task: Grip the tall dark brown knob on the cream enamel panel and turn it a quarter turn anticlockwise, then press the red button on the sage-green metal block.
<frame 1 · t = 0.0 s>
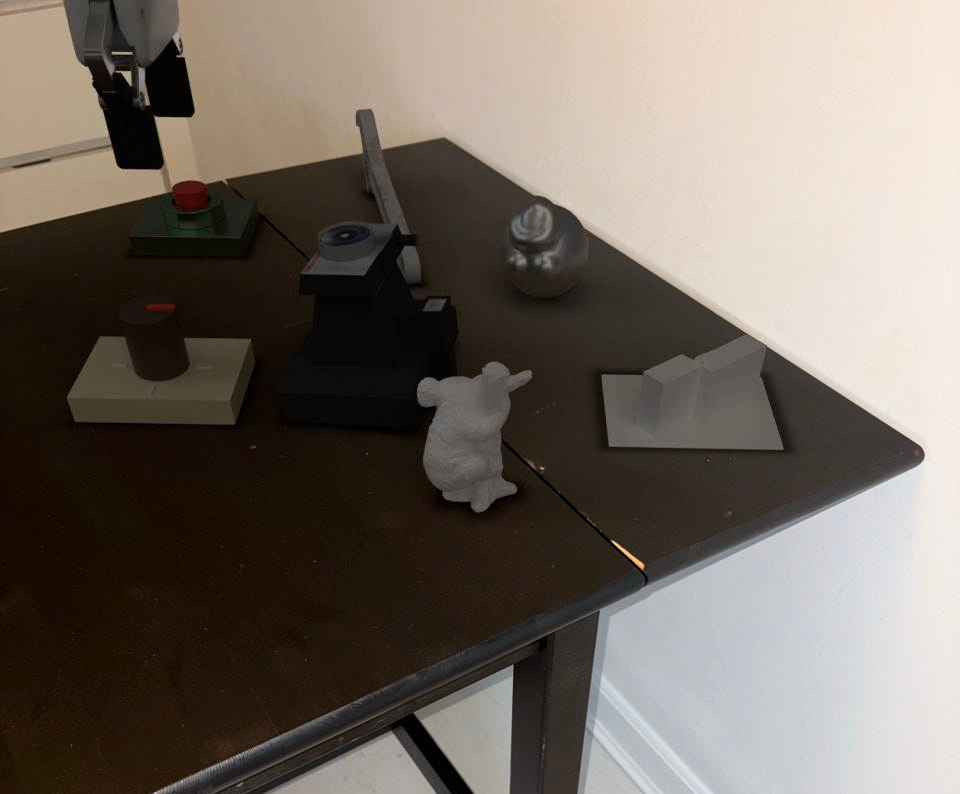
hand: (158, 140, 72), 22 cm above the table, tool pointing down, fingers open, 9 cm apart
button block: (198, 235, 110), on the table
animal figurine: (473, 496, 79), on the table
dial: (154, 336, 85), point 5 cm above the table, hinge at 0.0°
dark grey rounded lump: (540, 295, 102), on the table
button: (190, 195, 107), point 4 cm above the table, slide at 0.1 cm
wrench: (388, 228, 112), on the table
panel: (168, 391, 89), on the table
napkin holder: (688, 412, 88), on the table
camera: (391, 384, 90), on the table
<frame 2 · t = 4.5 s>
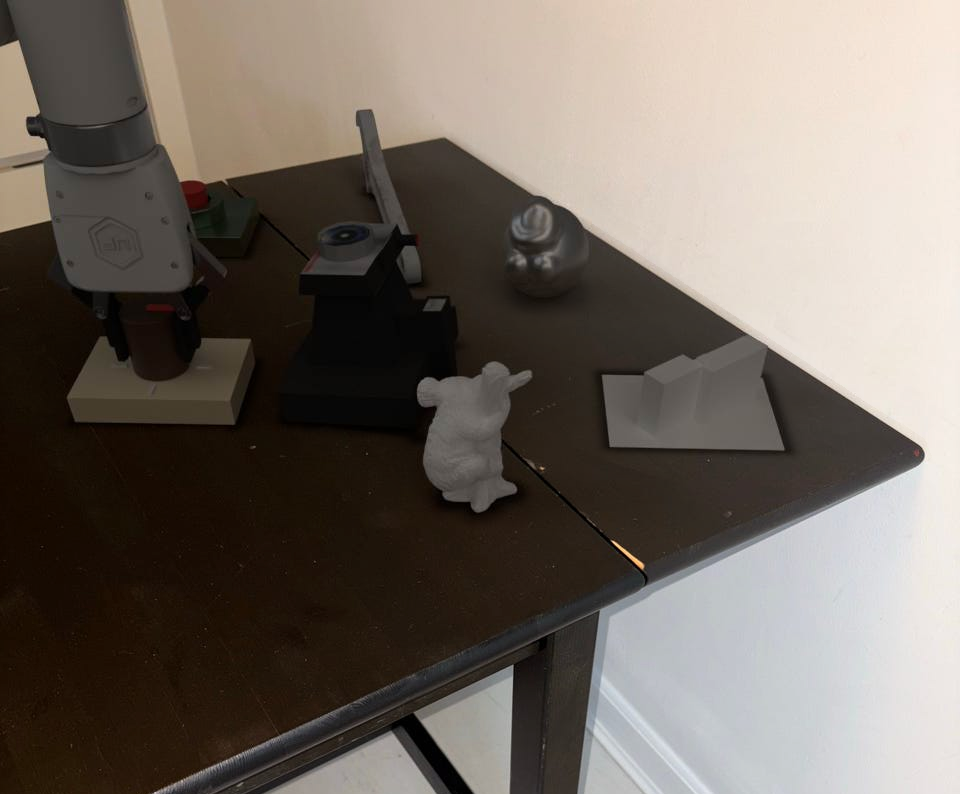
hand: (158, 351, 86), 4 cm above the table, tool pointing down, fingers closed on dial, 4 cm apart
dial: (154, 336, 85), point 5 cm above the table, hinge at 0.1°, touching gripper
everything else where it was.
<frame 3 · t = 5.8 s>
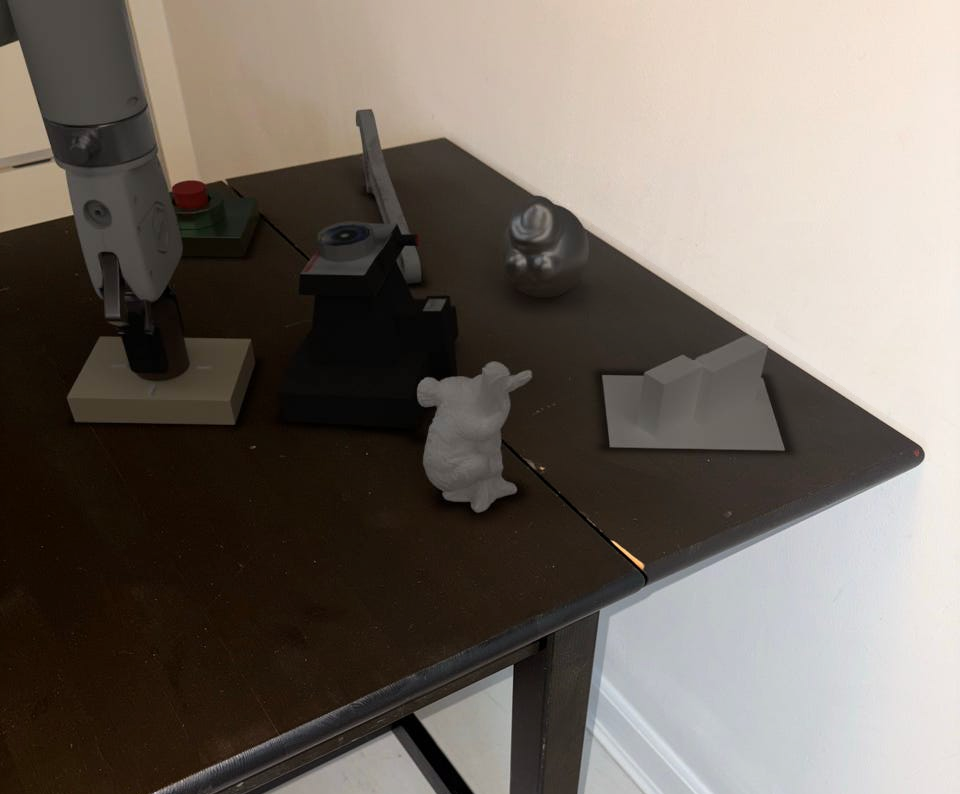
hand: (158, 351, 86), 4 cm above the table, tool pointing down, fingers closed on dial, 4 cm apart
dial: (154, 336, 85), point 5 cm above the table, hinge at 90.3°, touching gripper
everything else where it was.
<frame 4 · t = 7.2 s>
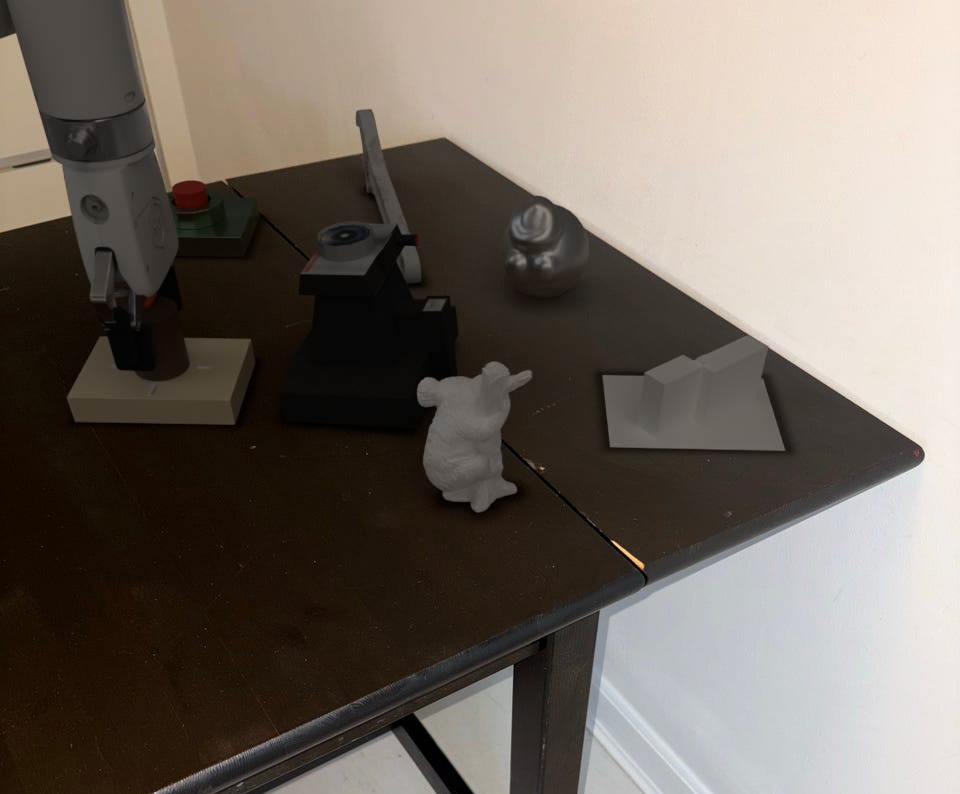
hand: (151, 338, 85), 5 cm above the table, tool pointing down, fingers open, 9 cm apart
dial: (154, 336, 85), point 5 cm above the table, hinge at 88.9°
everything else where it was.
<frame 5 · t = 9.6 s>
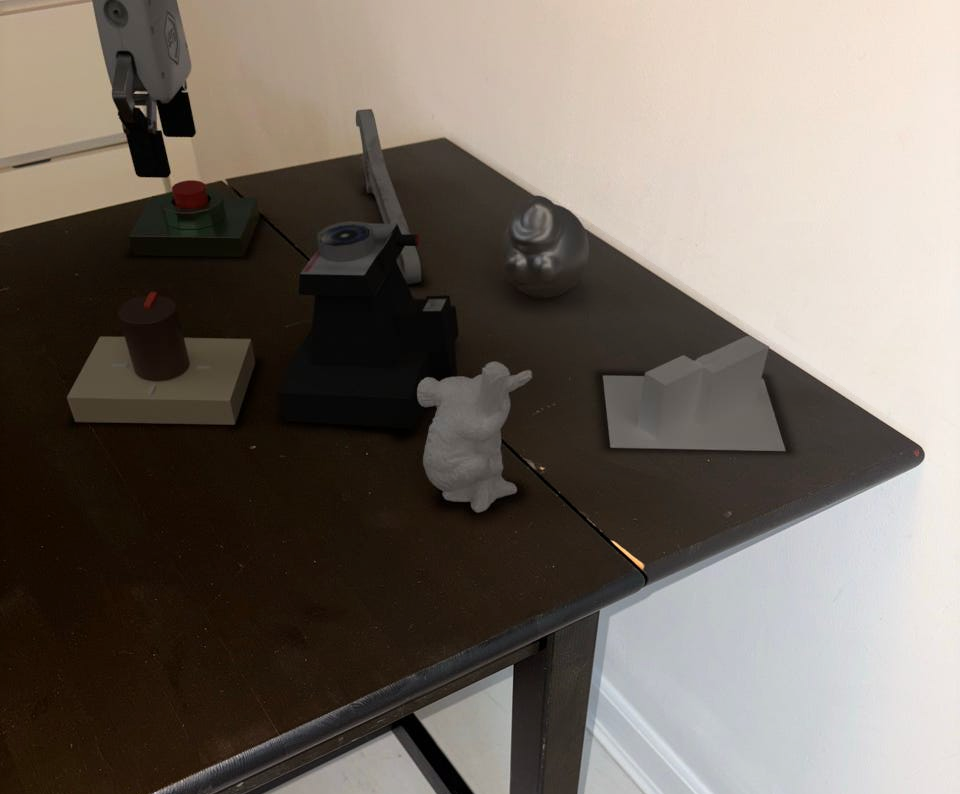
hand: (167, 155, 95), 12 cm above the table, tool pointing down, fingers open, 9 cm apart
nothing on the table moved.
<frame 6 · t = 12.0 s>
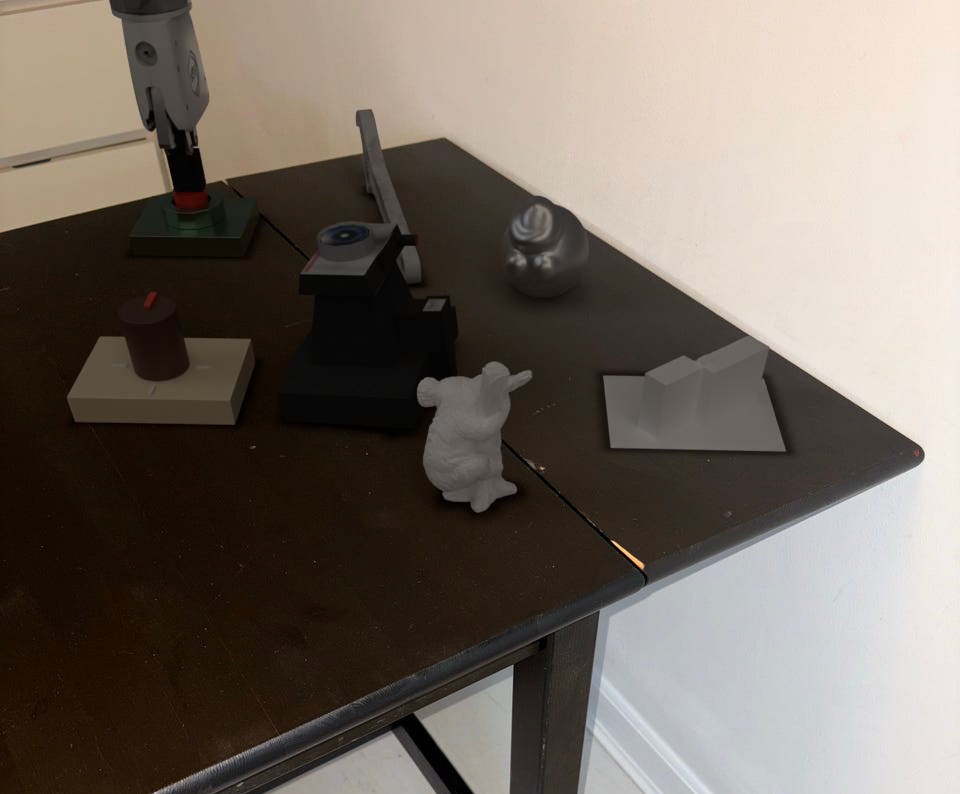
hand: (190, 188, 106), 5 cm above the table, tool pointing down, fingers closed
button: (190, 197, 107), point 4 cm above the table, slide at -0.2 cm, touching gripper
everything else where it was.
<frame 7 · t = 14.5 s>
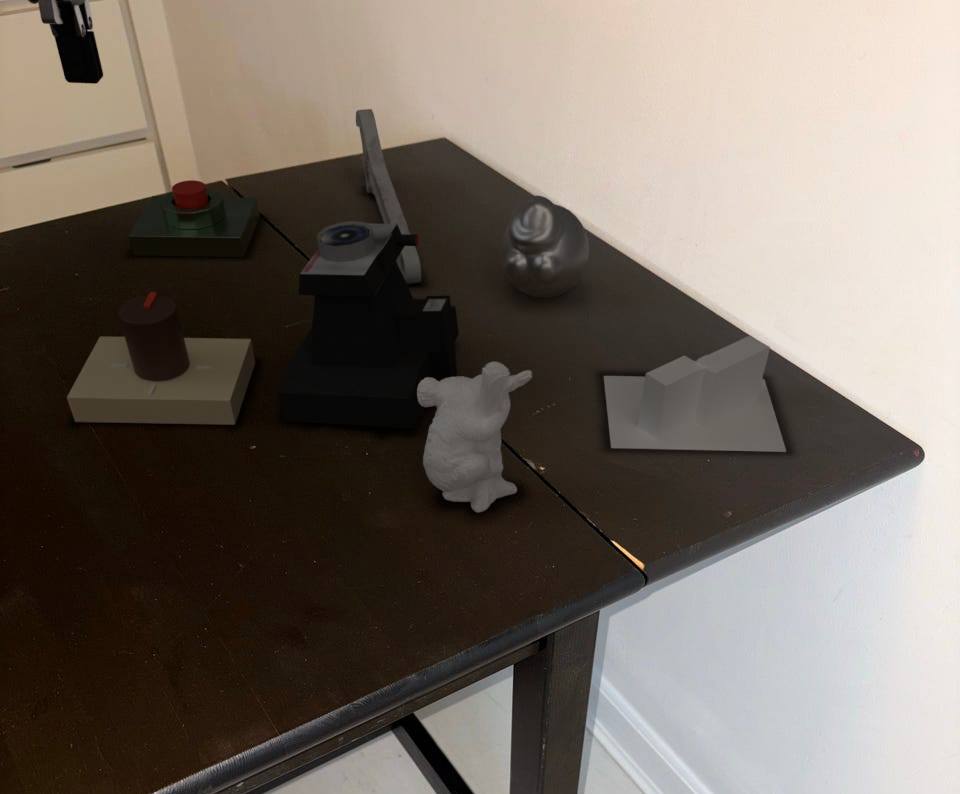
hand: (85, 79, 94), 17 cm above the table, tool pointing down, fingers closed
button: (190, 195, 107), point 4 cm above the table, slide at 0.1 cm
everything else where it was.
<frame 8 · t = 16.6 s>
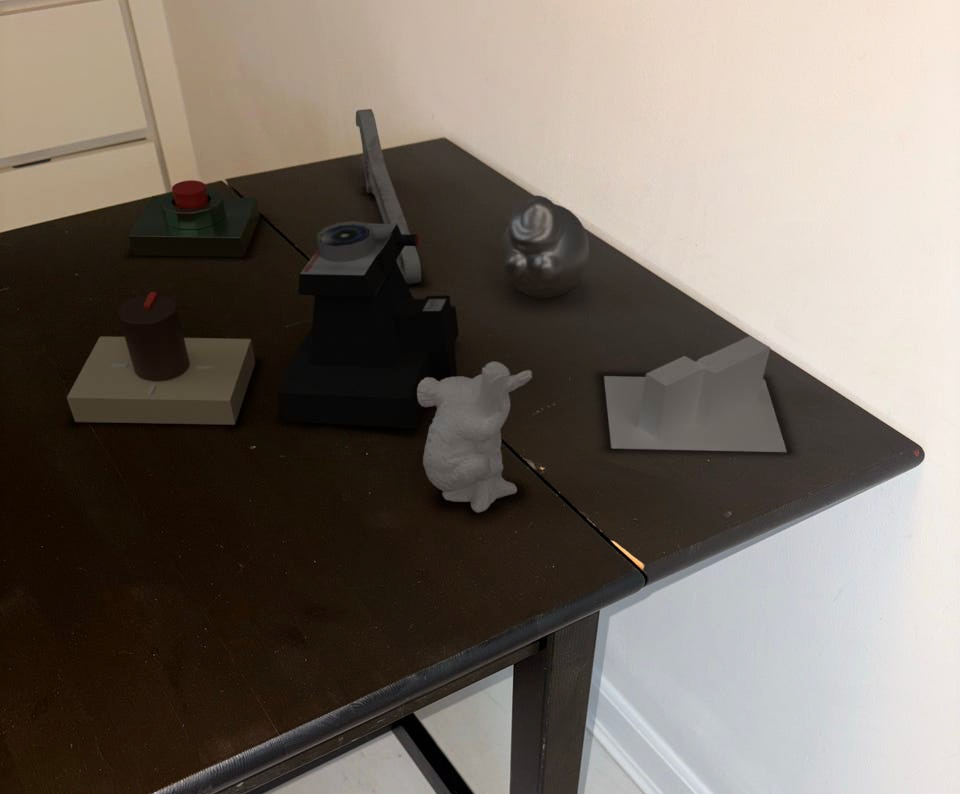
nothing on the table moved.
at the end: dial at +89° (first picture: +0°); button pushed in 1.1 cm at the most during the clip, back to where it started at the end; button slide at 0.1 cm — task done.
